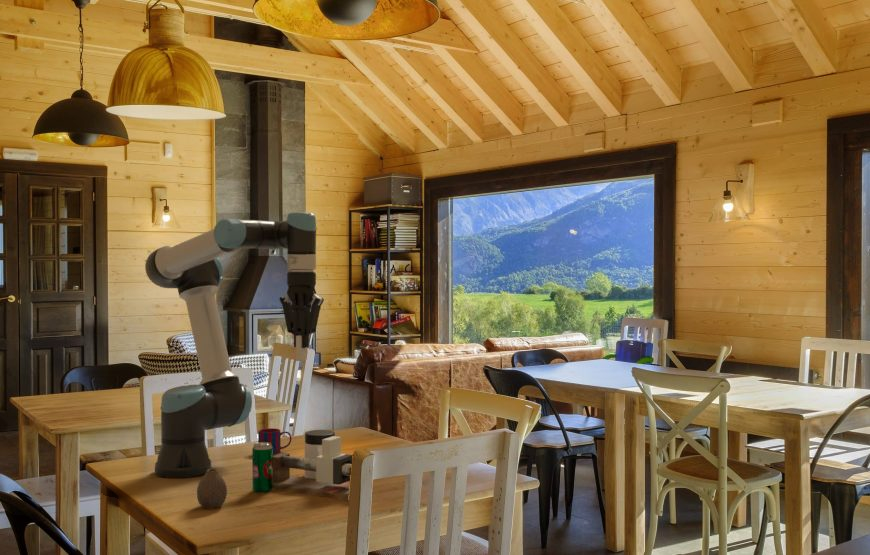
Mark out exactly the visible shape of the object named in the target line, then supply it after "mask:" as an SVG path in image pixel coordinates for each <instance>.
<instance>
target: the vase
mask: <svg viewBox="0 0 870 555" xmlns="http://www.w3.org/2000/svg"><path fill="white" fill-rule="evenodd" d="M227 489H228V488H227V484H226V481H225V479H224V478H223V476H221V474H220V473H219V471H218V470H217V469H216V468H211V469H209V470H207V471H206V473H205V474H203V476H202V478H201V479H200V481H199V482H198V485H197V488H196V499H197V501H198V504H199V506H201V507H202V508H203V509H206V510H213V509H214V510H215V509H219V508H221V507H222V505H224V503H225V501H226V500H227V494H228V490H227Z"/></svg>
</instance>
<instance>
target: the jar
mask: <svg viewBox="0 0 870 555" xmlns="http://www.w3.org/2000/svg"><path fill="white" fill-rule="evenodd" d="M332 436H336V431H334V430H331V429H311V430H308V431H305V432H304V458H308V459H315V460H316V457H318V456H321V455H322V439H326V438H329V437H332ZM304 477H305V478H312V479H316V472H315V471H307V470H304Z"/></svg>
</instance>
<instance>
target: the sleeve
mask: <svg viewBox="0 0 870 555" xmlns="http://www.w3.org/2000/svg"><path fill="white" fill-rule="evenodd" d="M346 454H347V453H342V437H341V436H336V435H335V436H332V437H329V438H326V439H322V455H321V456H318V457H316V481H317V482H324V483H331V484H333V459H335V458H337V457H340V456H343V455H346ZM343 463H344V462H343ZM343 476H344V475H343Z"/></svg>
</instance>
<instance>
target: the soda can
mask: <svg viewBox="0 0 870 555" xmlns="http://www.w3.org/2000/svg"><path fill="white" fill-rule="evenodd" d="M251 452H252V456H251V457H252V460H251V461H252V463H251V464H252V466H251V468H252V480H251V481H252V484H251V485H252V491H253V492H254V493H257V494H265V493H266V494H267V493H269V492H271V491H272V490H274V489H273V456H274V454H273V447H272V446H271V443H268V442H260V443H258V442H255V443H253V447H252V451H251Z"/></svg>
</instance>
